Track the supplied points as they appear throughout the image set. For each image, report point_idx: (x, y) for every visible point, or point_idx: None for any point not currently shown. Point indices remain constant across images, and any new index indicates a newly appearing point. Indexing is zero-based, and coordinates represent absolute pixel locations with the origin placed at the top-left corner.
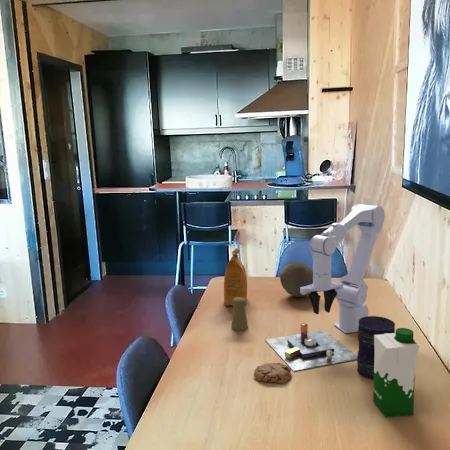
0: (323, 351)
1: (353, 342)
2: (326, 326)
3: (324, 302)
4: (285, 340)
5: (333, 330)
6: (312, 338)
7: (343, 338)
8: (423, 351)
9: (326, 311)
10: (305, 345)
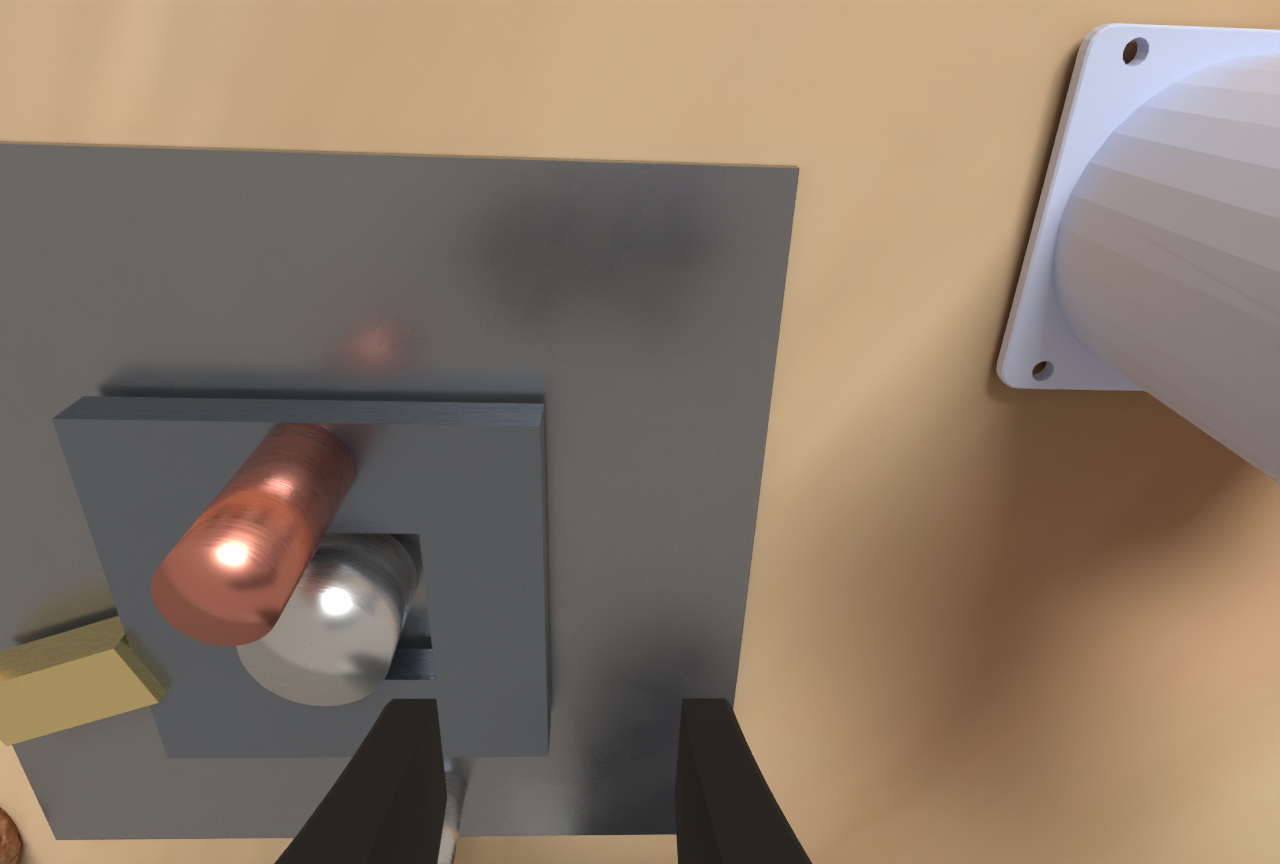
0: None
1: (898, 582)
2: (942, 20)
3: (716, 849)
4: (78, 289)
5: (930, 212)
6: (354, 637)
7: (871, 469)
8: (1270, 860)
9: (677, 761)
10: None
